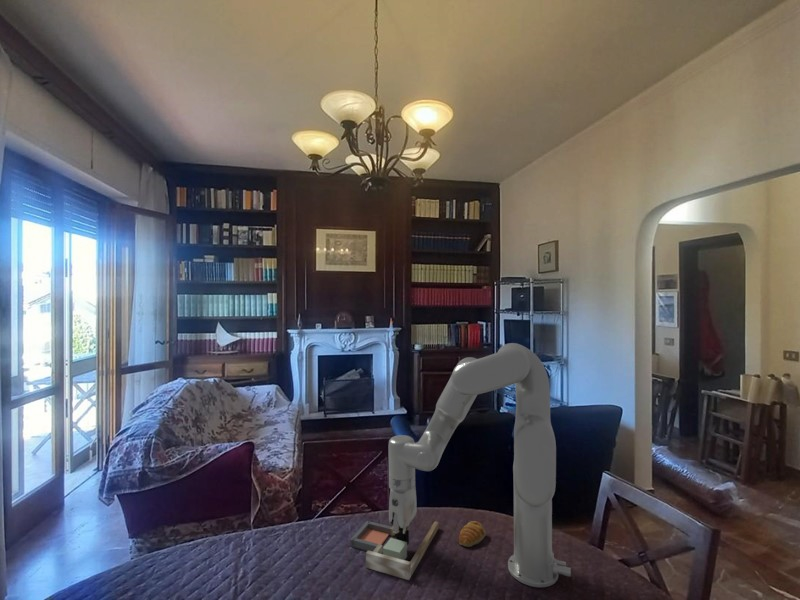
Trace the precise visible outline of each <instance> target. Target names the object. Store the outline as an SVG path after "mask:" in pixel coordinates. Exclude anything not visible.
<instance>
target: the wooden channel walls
mask: <svg viewBox="0 0 800 600" xmlns="http://www.w3.org/2000/svg"><path fill="white" fill-rule="evenodd" d="M439 527H440V526H439V521H434V522H433V524H432V525H431V527H430V528H429V530H428V532H427V533H426V535H425V537H424V538H423V541H422V542H421V544H420V545H419V546H418V548H417V550H416V551H415V554H414V555H413V557H412V559H411V560H410V561H408V560H406V559H405V560H402V559H398V558H394V557H391V556H387V555H383V544H382V545H380V544H378V545H377V547H376V548H375V549H374V551H373V552H372V551H369V550H368V551H366V552H365V568H366V569H370V570H373V571H376V572H380V573H384V574H387V575H389V576H392V577H396V578H400V579H403V580H407V581H410V580H411V577H412V576H413V574H414V572H415V571H416V569H417V568H418V565H419V564H420V562H421V560H422V559H423V557H424V555H425V553H426V552H427V550H428V548H429V546H430V544H431V542H432V540H433V539H434V538H435V536H436V534H437V532H438V531H439ZM389 536H391V537H395V536H396V533H393V525H392V526H391V529H390V535H389Z"/></svg>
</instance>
